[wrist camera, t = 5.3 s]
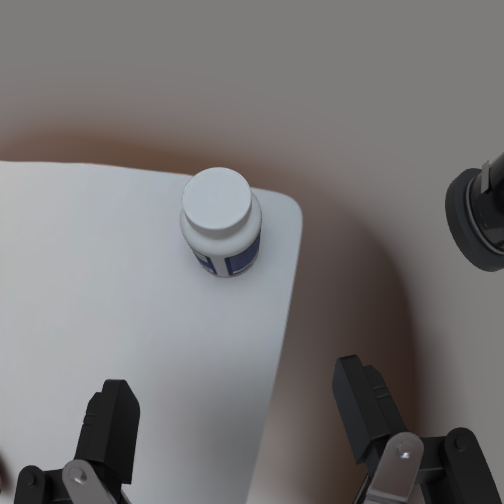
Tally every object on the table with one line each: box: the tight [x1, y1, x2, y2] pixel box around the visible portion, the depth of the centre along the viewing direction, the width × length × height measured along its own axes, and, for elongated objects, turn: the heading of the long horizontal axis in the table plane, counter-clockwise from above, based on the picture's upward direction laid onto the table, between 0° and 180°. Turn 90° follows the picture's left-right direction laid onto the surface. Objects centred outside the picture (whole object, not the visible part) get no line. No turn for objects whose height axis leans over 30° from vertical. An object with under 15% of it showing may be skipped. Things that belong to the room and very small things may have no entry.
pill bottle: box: [180, 167, 262, 277], centre depth 22 cm, size 5×5×10 cm
